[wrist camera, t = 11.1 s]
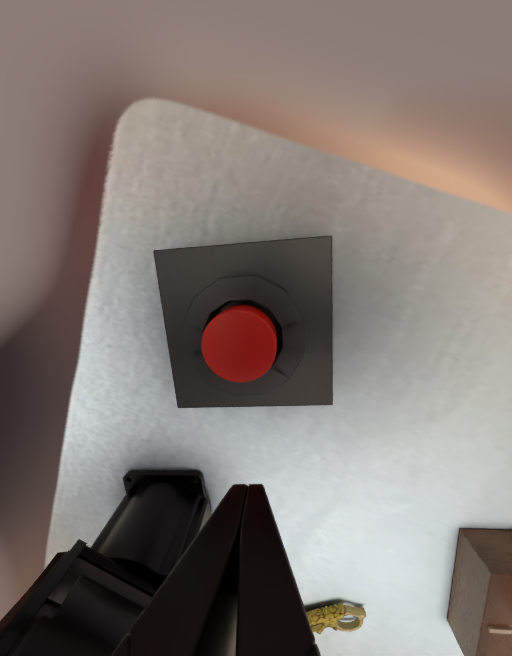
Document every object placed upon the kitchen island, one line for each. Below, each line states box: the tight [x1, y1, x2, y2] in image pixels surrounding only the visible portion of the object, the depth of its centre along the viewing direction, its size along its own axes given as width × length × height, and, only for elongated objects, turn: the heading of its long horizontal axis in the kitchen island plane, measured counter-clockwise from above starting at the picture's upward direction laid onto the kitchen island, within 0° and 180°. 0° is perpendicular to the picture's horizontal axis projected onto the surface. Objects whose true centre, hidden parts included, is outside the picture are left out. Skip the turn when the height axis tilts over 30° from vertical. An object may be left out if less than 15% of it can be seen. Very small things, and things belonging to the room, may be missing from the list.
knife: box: [306, 603, 366, 634], centre depth 23 cm, size 14×1×5 cm
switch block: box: [154, 236, 333, 408], centre depth 15 cm, size 10×10×4 cm
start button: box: [201, 305, 277, 382], centre depth 13 cm, size 4×4×2 cm
